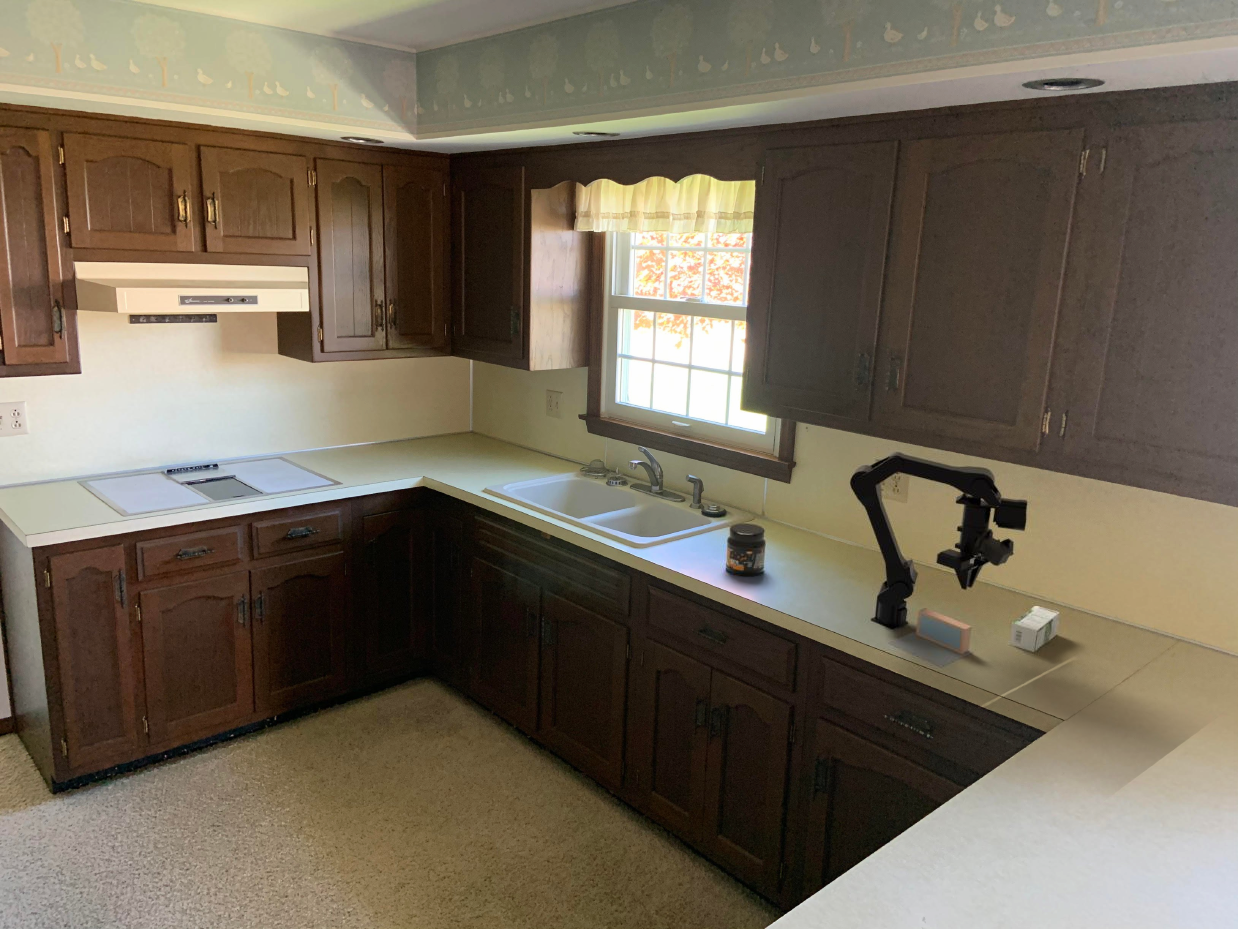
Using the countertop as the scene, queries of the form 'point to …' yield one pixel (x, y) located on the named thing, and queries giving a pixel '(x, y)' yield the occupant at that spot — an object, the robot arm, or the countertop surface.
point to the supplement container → (745, 549)
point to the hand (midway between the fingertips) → (966, 588)
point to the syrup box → (1034, 628)
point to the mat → (927, 649)
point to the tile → (943, 630)
